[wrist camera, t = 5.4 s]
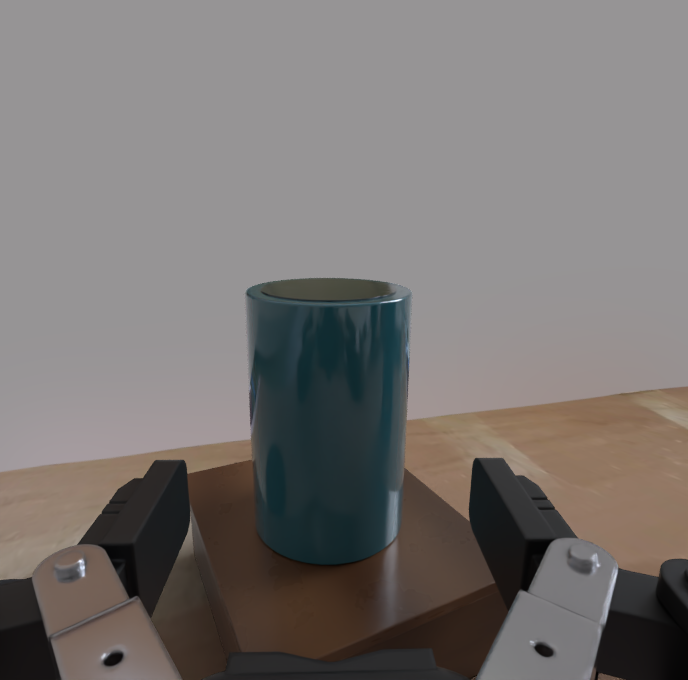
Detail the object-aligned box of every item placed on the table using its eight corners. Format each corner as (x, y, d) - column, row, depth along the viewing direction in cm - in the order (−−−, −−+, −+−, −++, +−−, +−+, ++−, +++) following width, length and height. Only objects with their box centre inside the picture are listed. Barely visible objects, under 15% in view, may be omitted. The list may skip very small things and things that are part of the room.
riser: (363, 500, 30) (364, 434, 29) (515, 664, 20) (527, 568, 18) (187, 551, 26) (180, 474, 25) (258, 801, 15) (252, 685, 14)
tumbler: (358, 465, 26) (362, 273, 23) (432, 536, 20) (447, 295, 18) (237, 496, 23) (226, 281, 20) (285, 587, 17) (277, 309, 15)
